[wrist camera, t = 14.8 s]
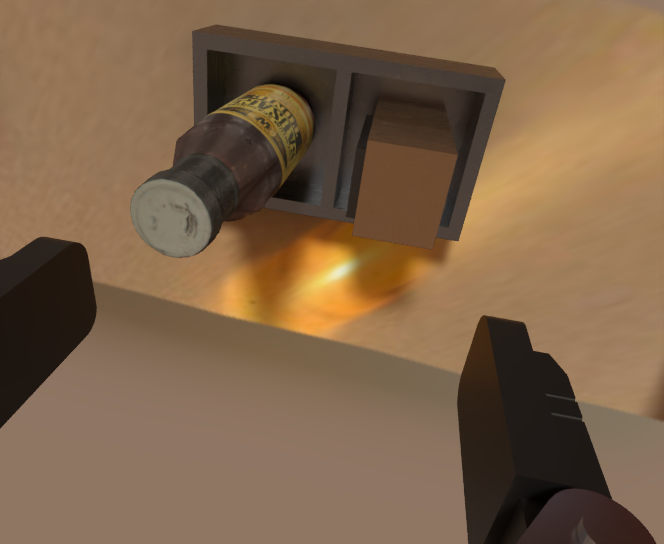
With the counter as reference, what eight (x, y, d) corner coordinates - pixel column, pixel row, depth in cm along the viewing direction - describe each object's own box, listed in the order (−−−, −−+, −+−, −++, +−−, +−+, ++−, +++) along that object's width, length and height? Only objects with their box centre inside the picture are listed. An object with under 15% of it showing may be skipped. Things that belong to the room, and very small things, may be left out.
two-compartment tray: (494, 67, 37) (530, 108, 26) (453, 215, 43) (468, 298, 32) (215, 24, 38) (136, 45, 27) (215, 175, 44) (151, 242, 33)
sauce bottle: (333, 117, 39) (275, 227, 22) (286, 173, 42) (203, 308, 25) (267, 58, 38) (150, 128, 21) (222, 121, 41) (89, 227, 24)
